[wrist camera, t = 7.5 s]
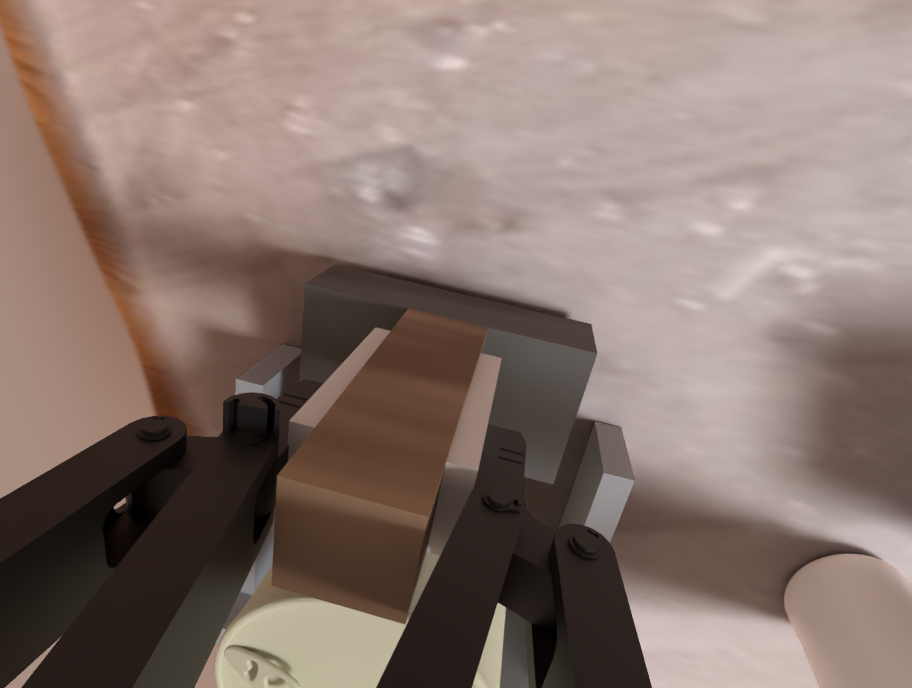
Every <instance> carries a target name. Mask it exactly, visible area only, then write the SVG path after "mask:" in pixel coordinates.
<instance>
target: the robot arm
mask: <svg viewBox="0 0 912 688" xmlns="http://www.w3.org/2000/svg"><path fill="white" fill-rule="evenodd" d="M389 333H390V331H388V330H384V329H380V328H375V329H374V330H373V331H372V332H371V333H370V334H369V335H368V336H367V337H366V338H365V339H364V340H363V342H362V343H361V344H360V345H359V346H358V347H357V348H356V349H355V350H354V351H353V352H352V353H351V355H350V356H349V357H348V358H347V359H346V360H345V361H344V362H343V363H342V364H341V365H340V366H339V367H338V369H337V370H336V371H335V372H334V373H333V374H332V375H331V376H330V377H329V378H328V379H327V380H326V382H325V383H320V382H316V381H312V380H308V379H305V380H302V381H300V382H297V383H295V384H292V385H291V386H290V387H289V388H288V389H287V390H286V391H285V392H284V393H283V395H280V396H279V397H278V398H277V399H276V398H274V397H273V396H270V395H267V394H263V393H253V392H249V393H241V394H237V395H234V396H231V397H229V398H228V399H227V400H225V401H224V402H223V432H222V433H221V434H220V436H219V437H199V436H187V427H186V426H185V424H184V422H182V421H180V420H179V419H177V418H173V417H168V416H152V417H147V418H142V419H139V420H137V421H134V422H132V423H130V424H128V425H126V426H125V427H123V428H121V429H119V430H118V431H116V432H114V433H113V434H111V435H109V436H108V437H106V438H104V439H102V440H101V441H99V442H97V443H95V444H94V445H92V446H90V447H89V448H87V449H85V450H83V451H82V452H80V453H78V454H77V455H75V456H73V457H71V458H70V459H68V460H66V461H64V462H63V463H61V464H59V465H58V466H56V467H54V468H52V469H51V470H49V471H47V472H46V473H44V474H42V475H40V476H39V477H37V478H35V479H33V480H32V481H30V482H28V483H27V484H25V485H23V486H21V487H20V488H18V489H16V490H15V491H13V492H11V493H10V494H8V495H6V496H4V497H3V498H1V499H0V688H5V687H6V686H7V685H8V684H9V683H10V682H11V681H13V680H14V679H15V678H16V677H17V676H18V675H19V674H20V673H21V672H22V671H24V670H25V669H26V668H27V667H28V666H29V665H30V664H31V663H32V662H34V660H36V659H37V658H38V657H39V656H40V655H41V654H42V653H43V652H45V651H46V650H47V649H48V648H49V647H50V646H51V645H52V644H53V643H55V641H57V640H58V639H59V638H60V637H61V636H62V637H61V638H60V639H59V641H58V642H57V643H56V644H55V646H54V647H53V648H52V649H51V651H50V652H49V653H48V655H47V656H46V657H45V659H44V660H43V661H42V662H41V664H40V665H39V666H38V668H37V669H36V670H35V671H34V672H33V674H32V675H31V676H30V677H29V679H28V680H27V681H26V683H25V684H24V685H23V686H22V688H194V687H195V685H196V683H197V681H198V678H199V676H200V675H201V672H202V670H203V668H204V666H205V664H206V662H207V660H208V658H209V656H210V654H211V652H212V649H213V647H214V645H215V643H216V641H217V639H218V637H219V635H220V633H221V631H222V629H223V626H224V624H225V622H226V620H227V618H228V616H229V614H230V612H231V610H232V608H233V606H234V604H235V601H236V599H237V597H238V595H239V593H240V591H241V589H242V587H243V585H244V583H245V581H246V578H247V576H248V574H249V572H250V570H251V568H252V566H253V564H254V562H255V560H256V558H257V555H258V553H259V551H260V549H261V547H262V545H263V543H264V541H265V539H266V537H267V535H268V533H269V530H270V528H271V526H272V524H273V519H274V509H275V506H276V486H277V475H278V474H279V473H280V471H281V470H282V469H283V468H284V466H285V465H286V464H287V463H288V461H289V460H290V459H291V457H292V456H293V455H294V454H295V452H296V451H297V450H298V449H299V447H300V446H301V445H302V443H303V442H304V441H305V440H306V438H307V437H308V436H309V435H310V433H311V432H312V431H313V429H314V428H315V427H316V426H317V424H318V423H319V422H320V421H321V419H322V418H323V417H324V415H325V414H326V413H327V412H328V410H329V409H330V408H331V407H332V405H333V404H334V403H335V401H336V400H337V399H338V398H339V396H340V395H341V394H342V393H343V391H344V390H345V389H346V387H347V386H348V385H349V384H350V382H351V381H352V380H353V379H354V377H355V376H356V375H357V373H358V372H359V371H360V370H361V368H362V367H363V366H364V364H365V363H366V362H367V361H368V359H369V358H370V357H371V356H372V354H373V353H374V352H375V350H376V349H377V348H378V347H379V345H380V344H381V343H382V342H383V340H384V339H385V338H386V336H387V335H388V334H389ZM501 359H502V358H499V357H495V356H491V355H487V354H483V353H481V354H480V357H479V360H478V363H477V367H476V370H475V373H474V376H473V379H472V382H471V386H470V389H469V392H468V395H467V398H466V401H465V405H464V408H463V411H462V414H461V417H460V420H459V424H458V427H457V430H456V433H455V436H454V439H453V443H452V446H451V449H450V452H449V455H448V458H447V462H446V466H445V470H444V475H443V479H442V484H441V488H440V493H439V497H438V502H437V506H436V511H435V515H434V520H433V524H432V529H431V533H430V538H429V542H428V547H427V551H426V552H428V553H432V554H435V555H439V556H440V557H439V559H438V561H437V563H436V565H435V567H434V569H433V571H432V574H431V576H430V578H429V580H428V582H427V584H426V586H425V588H424V590H423V592H422V594H421V596H420V598H419V600H418V602H417V604H416V606H415V608H414V611H413V613H412V615H411V617H410V619H409V621H408V623H407V625H406V627H405V629H404V631H403V633H402V635H401V637H400V639H399V641H398V643H397V646H396V648H395V650H394V652H393V654H392V656H391V658H390V660H389V662H388V664H387V666H386V668H385V670H384V672H383V674H382V676H381V678H380V680H379V683H378V685H377V687H376V688H472V686H473V683H474V679H475V676H476V673H477V669H478V666H479V663H480V660H481V656H482V653H483V650H484V646H485V643H486V640H487V637H488V633H489V630H490V627H491V623H492V620H493V617H494V613H495V610H496V607H497V604H498V603H499V604H501V605H503V606H504V607H506V608H507V609H509V610H511V611H512V612H514V613H516V614H517V615H519V616H521V617H522V618H524V619H525V620H526V623H525V626H526V645H527V664H528V682H529V688H652V686H651V683H650V679H649V675H648V672H647V668H646V664H645V661H644V657H643V654H642V650H641V646H640V643H639V639H638V635H637V632H636V628H635V625H634V621H633V617H632V614H631V610H630V606H629V603H628V599H627V595H626V592H625V588H624V585H623V581H622V577H621V574H620V570H619V566H618V563H617V559H616V556H615V552H614V550H613V548H612V546H611V544H610V542H609V541H608V540H607V539H606V538H605V537H604V536H603V535H602V534H600V533H599V532H597V531H595V530H594V529H592V528H590V527H587V526H584V525H581V524H570V523H569V524H566V525H563V526H561V527H560V528H559V529H558V530H557V531H555V530H553V529H551V528H549V527H547V526H545V525H543V524H542V523H540V522H539V521H537V520H536V519H535V518H534V517H533V516H531V515H530V513H529V512H528V511H527V509H526V504H525V502H524V500H523V488H524V473H525V459H526V444H527V443H526V442H525V440H524V438H523V436H522V434H521V433H520V432H518V431H514V430H510V429H506V428H502V427H498V426H494V425H490V424H488V421H489V416H490V412H491V407H492V402H493V397H494V393H495V388H496V383H497V378H498V374H499V369H500V364H501ZM125 497H126V503H125V504H123V505H122V506H121V507H119V508H117V509H115V510H114V506H115V505H116V504H117V503H118V502H120V501H121V500H122V499H123V498H125Z"/></svg>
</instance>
